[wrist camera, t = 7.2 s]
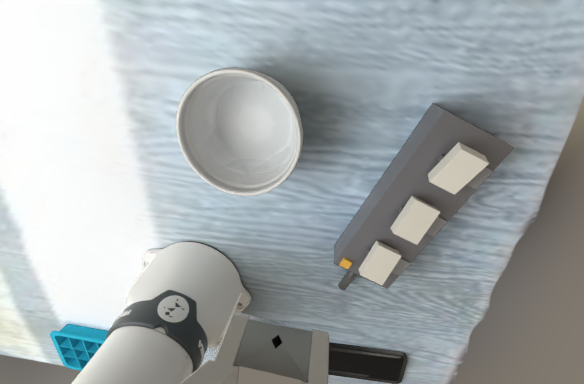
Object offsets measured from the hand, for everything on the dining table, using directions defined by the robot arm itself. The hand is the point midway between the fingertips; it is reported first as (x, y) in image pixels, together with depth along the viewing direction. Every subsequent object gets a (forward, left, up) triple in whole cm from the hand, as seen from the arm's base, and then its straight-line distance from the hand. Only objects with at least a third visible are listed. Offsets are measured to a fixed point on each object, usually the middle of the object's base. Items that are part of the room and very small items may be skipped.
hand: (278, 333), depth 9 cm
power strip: (-6, -14, -29) cm, 32 cm away
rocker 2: (-4, -14, -23) cm, 27 cm away
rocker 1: (-11, -14, -23) cm, 29 cm away
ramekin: (-4, +7, -29) cm, 30 cm away
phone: (-35, -26, -29) cm, 52 cm away
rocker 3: (+3, -14, -23) cm, 27 cm away
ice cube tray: (-62, +18, -29) cm, 71 cm away
